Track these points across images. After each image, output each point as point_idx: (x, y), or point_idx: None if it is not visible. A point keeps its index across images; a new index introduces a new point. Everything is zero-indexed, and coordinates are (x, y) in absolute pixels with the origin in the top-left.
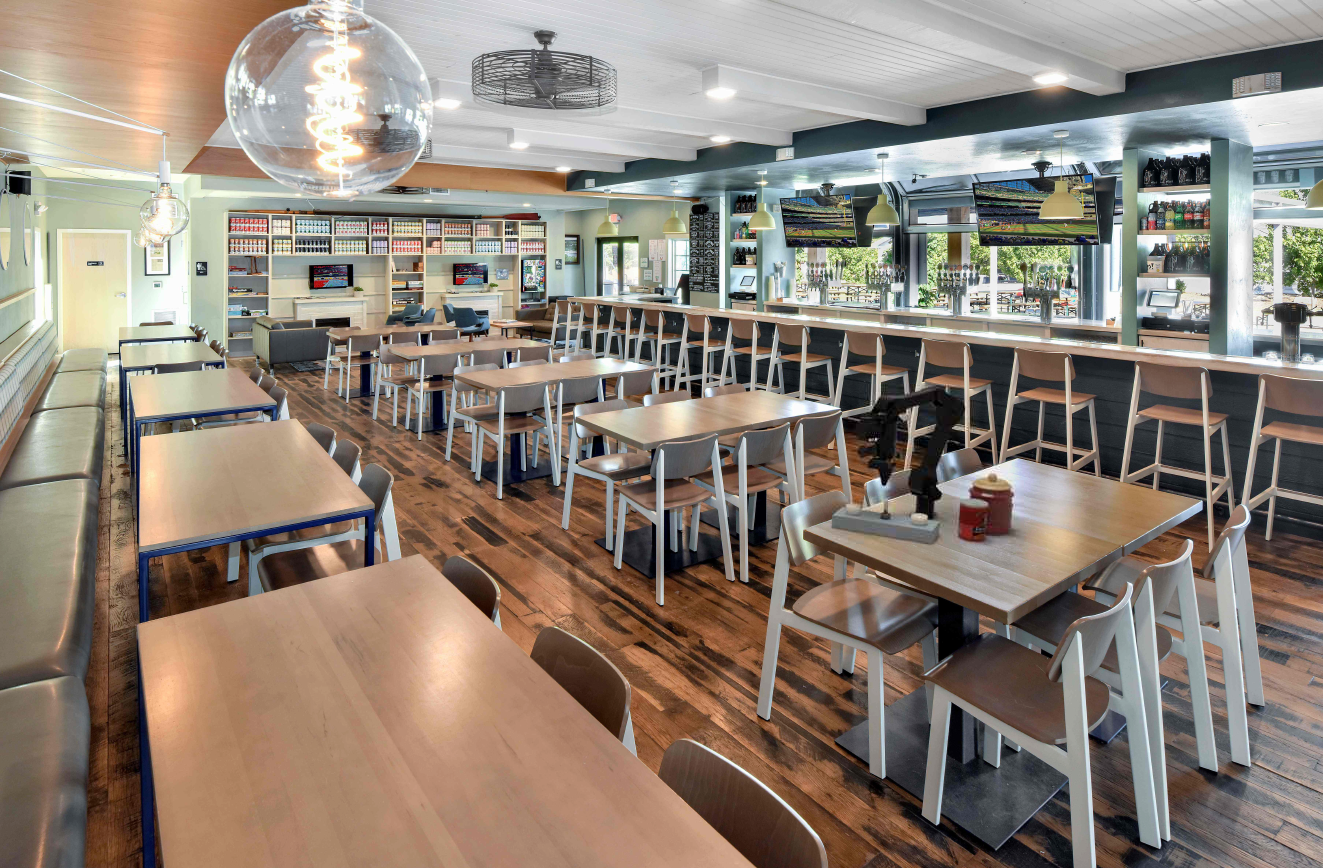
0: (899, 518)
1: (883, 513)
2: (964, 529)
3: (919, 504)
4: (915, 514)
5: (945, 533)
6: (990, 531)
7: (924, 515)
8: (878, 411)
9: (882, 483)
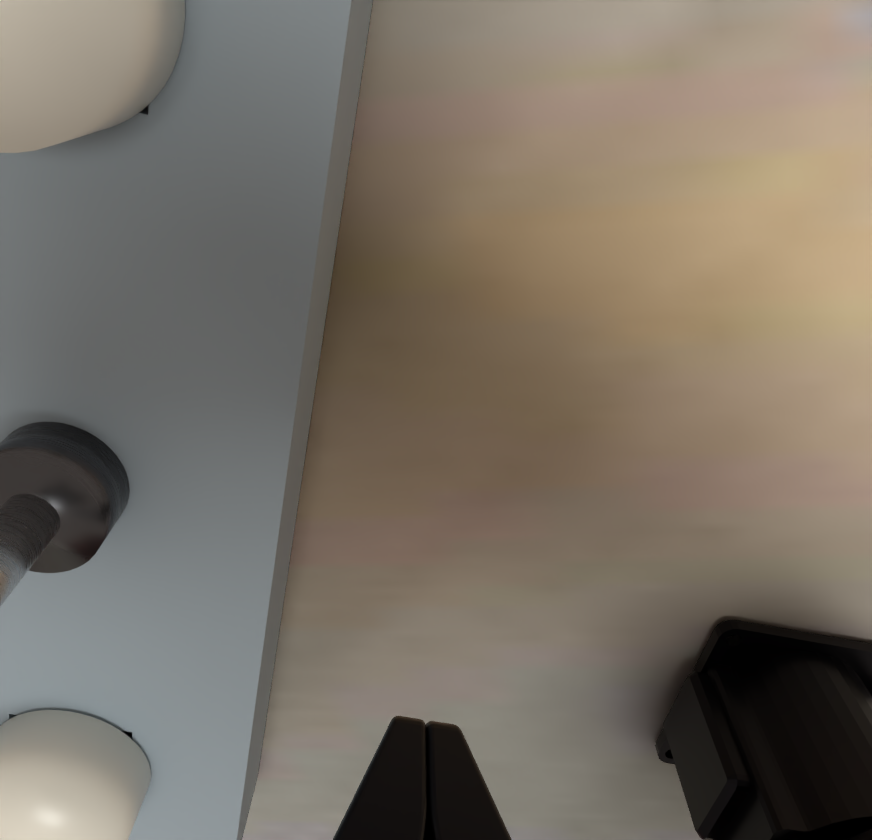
0: (150, 614)
1: (23, 492)
2: None
3: (723, 782)
4: (49, 817)
5: (304, 807)
6: None
7: None
8: None
9: (367, 774)
